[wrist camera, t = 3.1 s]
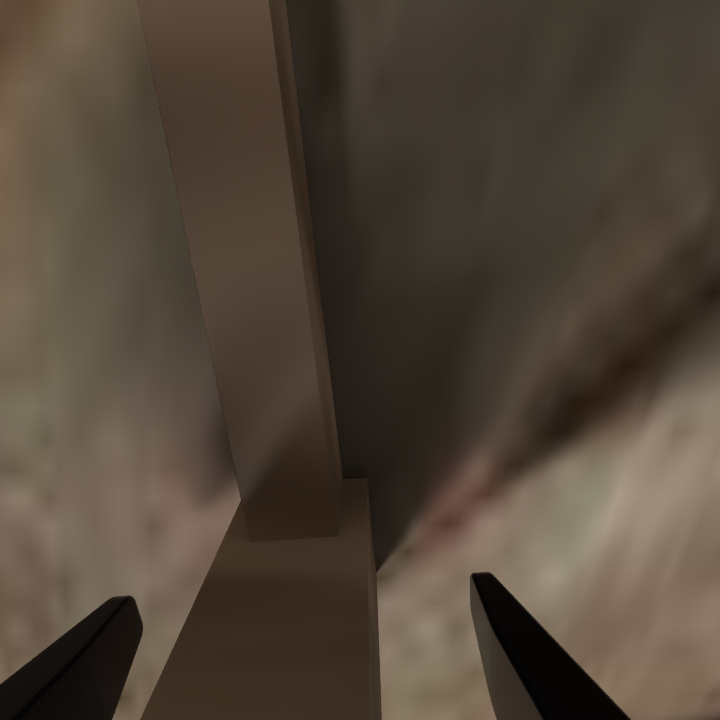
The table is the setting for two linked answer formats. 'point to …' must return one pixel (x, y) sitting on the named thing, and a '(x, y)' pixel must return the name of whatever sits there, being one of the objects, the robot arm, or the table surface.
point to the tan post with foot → (262, 387)
